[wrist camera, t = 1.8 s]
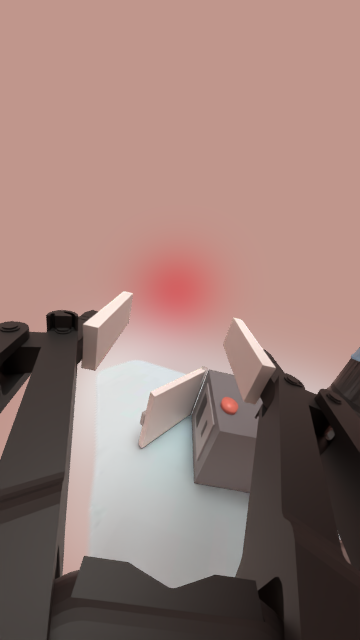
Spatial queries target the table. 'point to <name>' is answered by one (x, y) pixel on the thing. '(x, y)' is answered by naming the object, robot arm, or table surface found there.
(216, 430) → the housing
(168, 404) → the door
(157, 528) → the table surface
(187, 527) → the table surface
